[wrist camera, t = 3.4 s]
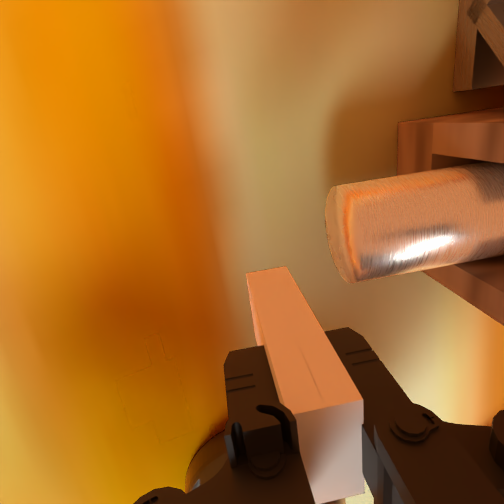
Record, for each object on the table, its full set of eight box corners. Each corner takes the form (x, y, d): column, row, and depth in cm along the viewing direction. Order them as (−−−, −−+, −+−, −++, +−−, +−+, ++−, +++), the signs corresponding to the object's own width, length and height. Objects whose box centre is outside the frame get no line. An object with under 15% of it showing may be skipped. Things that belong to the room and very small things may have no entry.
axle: (327, 261, 23) (363, 301, 18) (323, 178, 21) (362, 197, 16) (572, 216, 25) (669, 242, 20) (590, 135, 23) (704, 140, 18)
